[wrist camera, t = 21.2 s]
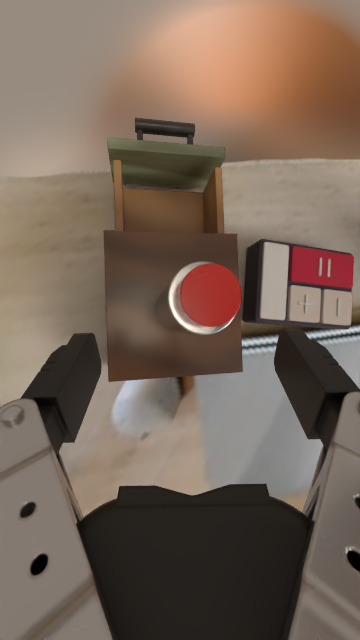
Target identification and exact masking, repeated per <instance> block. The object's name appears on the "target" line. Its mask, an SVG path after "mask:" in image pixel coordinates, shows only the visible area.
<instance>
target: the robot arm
mask: <svg viewBox="0 0 360 640" xmlns="http://www.w3.org/2000/svg"><path fill="white" fill-rule="evenodd" d="M274 366H275V370H276V373H277V375H278V377H279V379H280V381H281V383H282V386H283V388H284V390H285V392H286V394H287V396H288V398H289V400H290V402H291V405H292V407H293V409H294V411H295V413H296V415H297V417H298V419H299V421H300V423H301V426H302V428H303V430H304V432H305V434H306V436H307V438H308V439H321V441H322V443H323V447H322V450H321V453H320V456H319V460H318V463H317V466H316V470H315V473H314V477H313V480H312V484H311V487H310V490H309V494H308V497H307V500H306V502H305V505H304V508H303V510H302V512H300V511H299V510H297V509H296V508H294V507H293V506H291V505H289V504H287V503H285V502H284V501H281V500H279V499H276V498H274V497H270V496H269V493H268V489H267V485H266V484H230V485H227V486H223V487H220V488H217V489H214V490H211V491H208V492H205V493H201V494H198V495H193V496H191V495H187V494H183V493H180V492H176V491H173V490H169V489H165V488H162V487H158V486H119V491H118V497H117V499H114V500H111V501H109V502H107V503H105V504H103V505H101V506H99V507H98V508H96V509H94V510H93V511H92V512H90V513H89V514H88V515H86V516H85V517H84V516H83V514H82V511H81V509H80V507H79V504H78V502H77V499H76V497H75V494H74V491H73V488H72V486H71V483H70V480H69V477H68V475H67V472H66V469H65V467H64V464H63V461H62V458H61V456H60V453H59V450H60V448H61V445H62V443H70V442H75V439H76V437H77V434H78V431H79V429H80V426H81V424H82V421H83V418H84V416H85V413H86V411H87V408H88V405H89V403H90V400H91V398H92V395H93V393H94V390H95V387H96V385H97V382H98V380H99V377H100V374H101V359H100V355H99V351H98V347H97V342H96V338H95V335H94V334H93V333H80V334H74V335H73V336H72V338H71V339H70V341H69V342H68V344H67V345H62V346H61V347H59V348H58V349H57V350H55V351H54V352H53V353H52V354H51V355H50V357H49V358H48V360H47V361H46V364H44V365H43V367H42V368H41V371H40V372H38V374H37V375H36V377H35V378H34V380H33V381H32V383H31V384H30V385H29V387H28V388H27V390H26V391H25V393H24V394H23V396H22V397H21V398H20V399H18V400H14V401H11V402H9V403H7V404H5V405H3V406H2V407H0V640H360V389H359V388H358V387H357V386H356V384H355V383H354V382H353V381H352V379H351V378H350V377H349V376H348V375H347V373H346V372H345V371H344V370H343V368H342V367H341V366H339V364H338V362H337V361H336V360H335V359H334V358H333V356H332V355H331V354H330V353H329V351H328V350H327V349H326V348H325V347H324V346H322V345H321V344H319V343H318V342H316V341H315V340H310V339H309V338H308V337H307V335H306V334H305V333H304V332H303V330H302V329H282V330H281V331H280V333H279V338H278V343H277V348H276V352H275V357H274Z"/></svg>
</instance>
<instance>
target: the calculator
mask: <svg viewBox="0 0 360 640" xmlns="http://www.w3.org/2000/svg"><path fill="white" fill-rule="evenodd" d="M353 265H354V257H353V255H352V254H350V253H344V252H338V251H332V250H326V249H320V248H314V247H308V246H302V245H296V244H290V243H284V242H277V241H271V240H265V239H261V240H259V241H258V242H256V243H255V244H253V245H251V246H250V247H248V250H247V265H246V282H245V299H244V315H243V320H244V321H245V322H251V323H263V324H278V325H290V326H302V327H315V328H327V329H349V328H350V325H351V311H352V293H351V291H352V286H353Z"/></svg>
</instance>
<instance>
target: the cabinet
mask: <svg viewBox="0 0 360 640" xmlns="http://www.w3.org/2000/svg"><path fill="white" fill-rule="evenodd" d="M104 255H105V286H106V317H107V348H108V378H109V382H112V381H126V380H139V379H153V378H166V377H180V376H193V375H207V374H220V373H234V372H243V367H242V343H241V320H240V307H239V310H238V312H237V313H236V315H235V317H234V319H233V320H232V321H231V323H230V324H229V325H228V326H227V327H225V328H224V329H223V330H221V331H219V332H217V333H214V334H209V335H199V334H191V333H183V332H175V331H170V330H168V329H166V328H164V327H163V326H162V325H161V324H160V323H159V322H158V320H157V318H156V315H155V303H156V300H157V298H158V297H159V295H160V294H161V293H162V292H163V290H164V289H165V288H166V286H167V285H168V284H169V282H170V281H171V280H172V279H173V277H174V276H175V275H176V273H177V272H178V271H179V270H180V269H182V268H183V267H185V266H186V265H188V264H191V263H194V262H200V261H205V262H211V263H215V264H219V265H221V266H224V267H226V268H227V269H229V270H230V271H231V272H232V273H233V274H234V275H235V277H236V278H237V280H238V282H239V273H238V250H237V234H220V233H182V232H144V231H106V230H104Z"/></svg>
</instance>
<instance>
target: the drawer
mask: <svg viewBox="0 0 360 640" xmlns="http://www.w3.org/2000/svg"><path fill="white" fill-rule="evenodd" d="M135 132H136V133H137V140H132V139H121V138H110V137H109V138H108V152H109V159H110V165H111V172H112V178H113V183H114V200H115V230H116V231H144V232H182V233H220V234H224V213H223V189H222V168H220V167H221V165H222V163H223V161H224V159H225V157H226V156H225V148H223V147H212V146H201V145H193V137H194V133H195V124H191V123H181V122H172V121H162V120H152V119H143V118H135ZM143 134H154V135H164V136H176V137H187V144H178V143H166V142H155V141H144V140H143ZM123 184H140V185H157V186H174V187H191V188H205V189H204V191H203V193H200V192H182V191H163V190H145V189H127V188H123Z"/></svg>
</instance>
